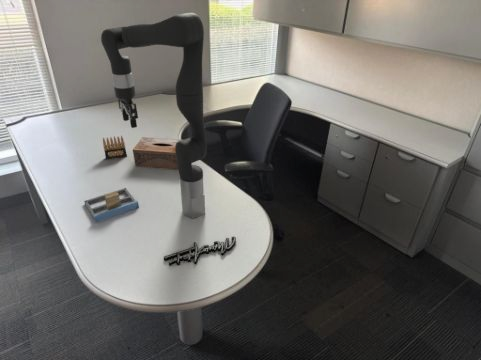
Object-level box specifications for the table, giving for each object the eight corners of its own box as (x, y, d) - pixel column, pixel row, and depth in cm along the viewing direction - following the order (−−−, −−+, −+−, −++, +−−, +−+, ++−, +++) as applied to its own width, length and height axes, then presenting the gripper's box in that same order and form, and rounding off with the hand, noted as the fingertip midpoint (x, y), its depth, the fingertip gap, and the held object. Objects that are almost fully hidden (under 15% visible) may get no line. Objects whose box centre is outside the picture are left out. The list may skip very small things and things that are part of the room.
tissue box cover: (191, 157, 183) (190, 140, 177) (185, 170, 170) (183, 153, 165) (144, 153, 184) (142, 136, 179) (135, 166, 172) (132, 149, 167)
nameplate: (230, 230, 132) (242, 246, 124) (230, 233, 132) (242, 249, 125) (161, 252, 121) (169, 271, 113) (161, 255, 122) (170, 275, 114)
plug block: (121, 209, 142) (118, 194, 138) (109, 213, 140) (106, 198, 135) (119, 206, 144) (116, 190, 140) (107, 210, 142) (104, 194, 137)
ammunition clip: (126, 154, 182) (123, 134, 176) (127, 156, 181) (123, 136, 174) (105, 157, 179) (101, 137, 172) (105, 159, 177) (101, 138, 171)
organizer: (138, 207, 144) (138, 201, 142) (95, 222, 135) (94, 216, 133) (126, 190, 154) (125, 185, 152) (85, 203, 145) (83, 198, 143)
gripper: (140, 87, 127) (145, 127, 135) (126, 78, 136) (132, 116, 145) (120, 91, 123) (127, 132, 132) (107, 81, 132) (115, 119, 141)
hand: (130, 123), depth 138 cm, fingers open, 8 cm apart
